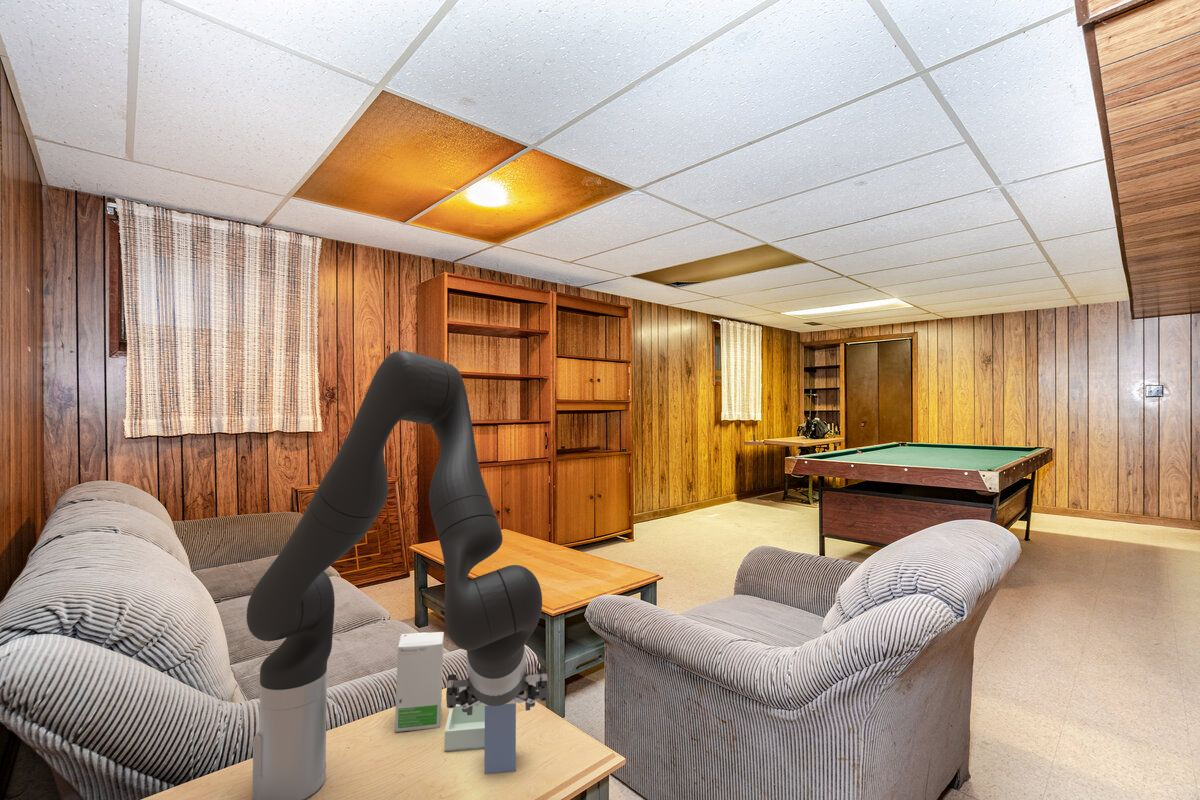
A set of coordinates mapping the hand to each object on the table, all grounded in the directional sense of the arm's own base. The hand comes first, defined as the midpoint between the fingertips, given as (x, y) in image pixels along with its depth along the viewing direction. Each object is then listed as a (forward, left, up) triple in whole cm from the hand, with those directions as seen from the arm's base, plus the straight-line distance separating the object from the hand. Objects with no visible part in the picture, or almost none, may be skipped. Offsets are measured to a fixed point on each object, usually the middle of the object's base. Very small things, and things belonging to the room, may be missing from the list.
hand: (499, 705), depth 82 cm
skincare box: (-15, +24, -15) cm, 32 cm away
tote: (-5, +18, -14) cm, 24 cm away
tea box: (0, +9, -14) cm, 17 cm away
